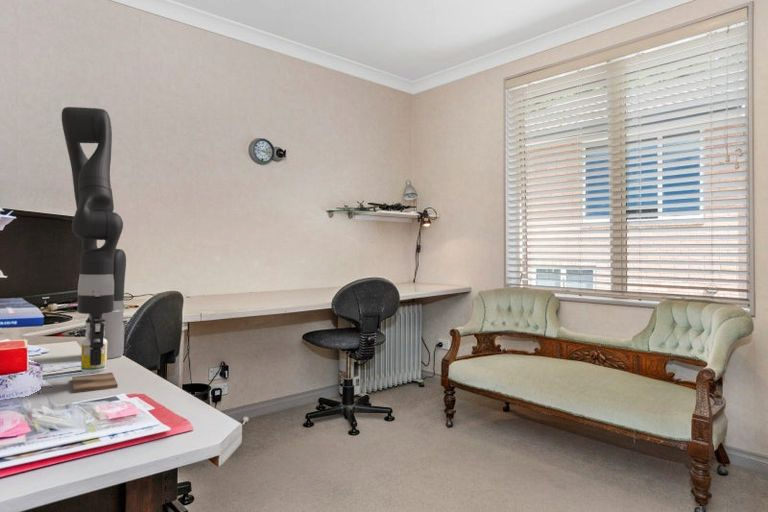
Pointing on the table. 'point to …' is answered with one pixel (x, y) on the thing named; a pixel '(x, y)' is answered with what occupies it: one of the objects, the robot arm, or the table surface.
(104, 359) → the supplement bottle
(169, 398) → the table surface
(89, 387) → the walnut mat
